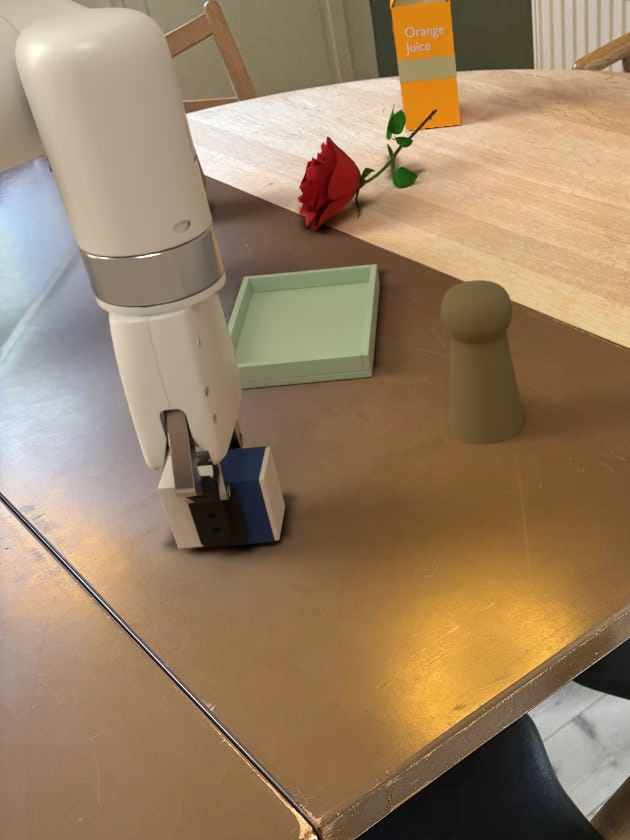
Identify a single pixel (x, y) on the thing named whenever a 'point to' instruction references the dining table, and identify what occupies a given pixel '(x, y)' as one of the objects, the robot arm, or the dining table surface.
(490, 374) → the olive brown pawn figure
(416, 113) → the orange juice
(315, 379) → the tray
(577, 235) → the dining table surface
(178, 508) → the eraser
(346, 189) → the flower
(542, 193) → the dining table surface
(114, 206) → the robot arm
